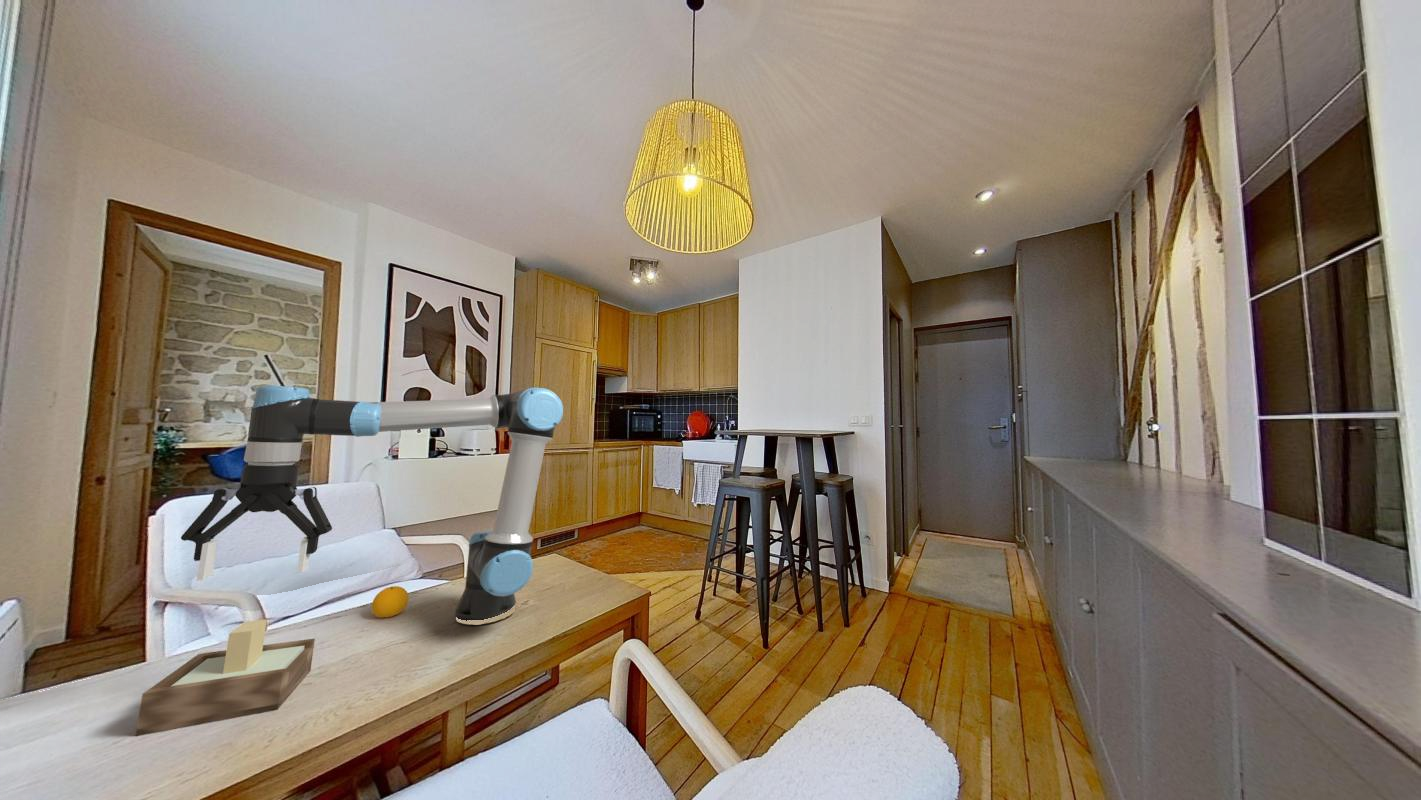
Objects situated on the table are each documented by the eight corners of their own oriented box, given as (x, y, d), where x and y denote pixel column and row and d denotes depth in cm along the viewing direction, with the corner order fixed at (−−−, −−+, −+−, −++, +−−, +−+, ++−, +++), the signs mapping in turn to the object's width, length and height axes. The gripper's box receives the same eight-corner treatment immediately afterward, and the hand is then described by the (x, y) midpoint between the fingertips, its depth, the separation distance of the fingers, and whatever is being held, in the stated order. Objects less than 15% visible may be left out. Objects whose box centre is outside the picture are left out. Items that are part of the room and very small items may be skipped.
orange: (410, 607, 115) (413, 580, 116) (402, 619, 108) (405, 590, 109) (376, 610, 112) (379, 583, 113) (365, 623, 105) (368, 593, 106)
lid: (304, 649, 83) (309, 610, 83) (279, 675, 74) (285, 631, 75) (206, 663, 77) (213, 620, 77) (166, 693, 68) (174, 645, 69)
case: (310, 670, 84) (314, 638, 85) (277, 709, 72) (282, 671, 73) (192, 689, 77) (198, 653, 77) (135, 736, 65) (142, 693, 66)
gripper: (359, 463, 88) (346, 562, 86) (194, 460, 77) (175, 574, 75) (346, 465, 81) (331, 573, 79) (163, 464, 70) (141, 588, 68)
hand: (255, 574), depth 77 cm, fingers open, 13 cm apart
